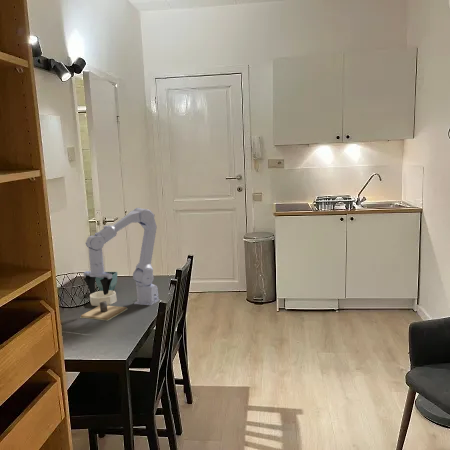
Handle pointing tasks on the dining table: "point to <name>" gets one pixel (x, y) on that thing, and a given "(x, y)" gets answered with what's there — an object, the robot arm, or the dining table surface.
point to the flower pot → (112, 284)
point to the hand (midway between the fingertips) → (99, 293)
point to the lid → (103, 311)
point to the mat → (103, 319)
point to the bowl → (102, 298)
